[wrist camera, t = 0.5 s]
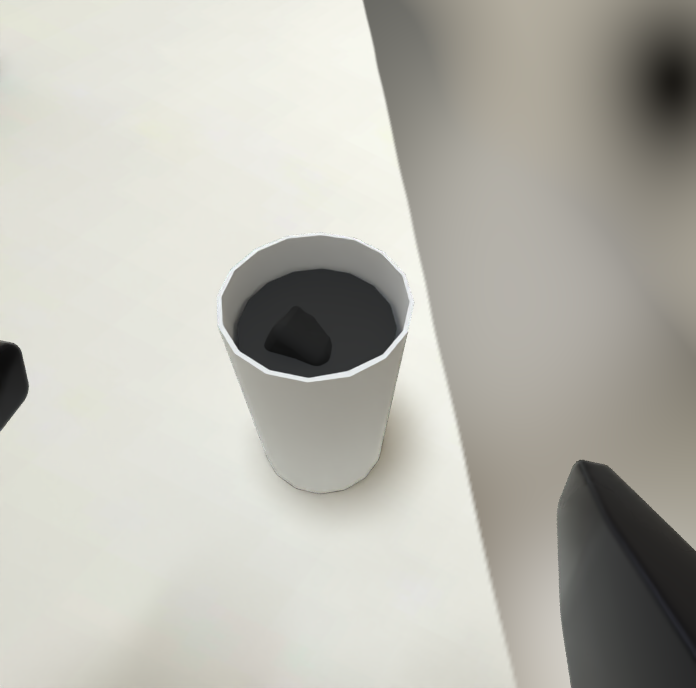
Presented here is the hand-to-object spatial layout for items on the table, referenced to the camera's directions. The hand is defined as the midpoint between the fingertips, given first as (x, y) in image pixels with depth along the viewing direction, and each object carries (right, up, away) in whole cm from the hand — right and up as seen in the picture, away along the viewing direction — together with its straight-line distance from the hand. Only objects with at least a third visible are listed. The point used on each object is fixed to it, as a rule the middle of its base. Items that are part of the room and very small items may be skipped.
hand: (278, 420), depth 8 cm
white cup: (0, -3, +18) cm, 18 cm away
